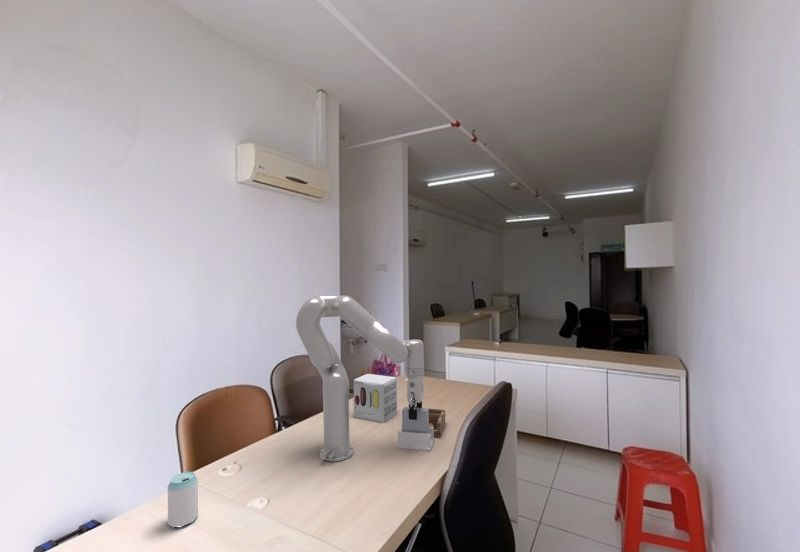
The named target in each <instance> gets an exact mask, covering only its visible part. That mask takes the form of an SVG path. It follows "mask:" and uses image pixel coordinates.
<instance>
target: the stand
mask: <svg viewBox="0 0 800 552" xmlns="http://www.w3.org/2000/svg"><path fill="white" fill-rule="evenodd" d="M434 431H435V429H434V427H429V434H425V433H413V432H402V430H400V431H397V445H396V446H397V447H396V448H397V449H404V450H415V451H422V452H423V451H424V452H426V451H427V452H432V448H433V445H434V443H435V438H434Z"/></svg>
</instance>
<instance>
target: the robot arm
mask: <svg viewBox="0 0 800 552" xmlns="http://www.w3.org/2000/svg"><path fill="white" fill-rule="evenodd" d="M334 317H335V318H336V317H339V318H340V319H341V320H342V321H344V322H345V323H346V324H347V325H348V326H350V327H351V328H352V329H353V330H354V331H355V332H356V333H358V334H359V335H360V336H361V337H362V338H364V339H365V340H366V341H368V342H369V343H370V344H371V345H373V346H374V347H375V348H376V349H377V350H379V351H380V353H382V354H383V355H384V356H386V357H387V358H388V359H389V360H390V361H392V362H393V363H396V364H401V363H404V373H405V374H404V375H405V377H407V381H406V382H407V383H406V384H407V386H406V387H407V388H406V389H407V390H406V391H407V392H406V395H407V397H406V398H407V402H408V406H407V407H408V411H409V419H410V420H417V409H416V408H423V400H424V397H425V389H424V387H425V386H424V376H425V351H424V349H425V348H424V347H425V346H424V342H423V341H422V340H421V339H408V340H406V339H405V340H404V339H403V340H402V339H398V338H397V337H396V336H395V335H394V334H393V333H392V332H390V331H389V330H388V329H387V328H386V327H385V326H384V325H383V324H382V323H381V322H380V321H379V320H378V319H377V318H376V317H375V316H374V315H372V314H371V313H370V312H369V311H368V310H366V309H365V308H364V307H363V306H362V305H361V304H360V303H358V301H356V300H355V299H354V298H352V297H351V296H349V295H329V296H328V295H325V296H323V295H322V296H320V295H319V296H312V297H309V298H307V300H305V302H304V303H303V304H302V305H301V307H300V309H299V310H298V312H297V315H296V319H295V325H296V326H295V327H296V330H297V333H298V336H299V338H300V340H301V342H302V345H303V346H304V347H303V348H305V351H306V353H307V355H308V357H309V359H310V362H311V364H312V365H313V366H314V367H315V368H316V369H317V371H318V373H319V375H320V377H321V379H322V407H323V408H322V409H323V412H322V413H323V414H322V415H323V447H322V448H321V449H320V451H319V459H320V460H322V461H326V462H327V461H328V462H340V461H344V460H347V459H349V458H351V457H352V456H353V455H354V451H355V450H354V447H353V446H352V445H351V443H350V406H349V403H350V401H349V400H350V398H349V397H350V381H349V376H348V374H347V370H346V369H345V366H344V365H343V363H342V360H341V359H340V357H339V355H338V353H337V350H336V349H335V347H334V346H333V344H332V343H331V342H330V341H328V339H327V336H326V334H325V333H324V330H323V328H322V326H321V319H322V318H334Z"/></svg>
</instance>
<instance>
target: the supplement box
mask: <svg viewBox="0 0 800 552" xmlns="http://www.w3.org/2000/svg"><path fill="white" fill-rule="evenodd" d="M397 379H398V378H397V376H391V375H390V376H389V375H382V374H375V373H374V374H373V373H366V374H364V375H362V376H359V377H357V378H355V379H353V418H358V419H363V420H368V421H372V422H376V423H382V424H385V423H387V422H388V421H389V420H390V419H393V418H394V417H396V416H397V415H398V387H397V385H398V384H397Z"/></svg>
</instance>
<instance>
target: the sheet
mask: <svg viewBox="0 0 800 552" xmlns="http://www.w3.org/2000/svg"><path fill="white" fill-rule="evenodd" d="M408 407H409V406H404V407H403V408H402V410H401V421H402V422H401V424H402V425H401V431H402V432H413V433H425V434H429V409H430V408H428V409H427V408H426V407H422V408H416V409H417V420H410V419H409V411H408Z"/></svg>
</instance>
